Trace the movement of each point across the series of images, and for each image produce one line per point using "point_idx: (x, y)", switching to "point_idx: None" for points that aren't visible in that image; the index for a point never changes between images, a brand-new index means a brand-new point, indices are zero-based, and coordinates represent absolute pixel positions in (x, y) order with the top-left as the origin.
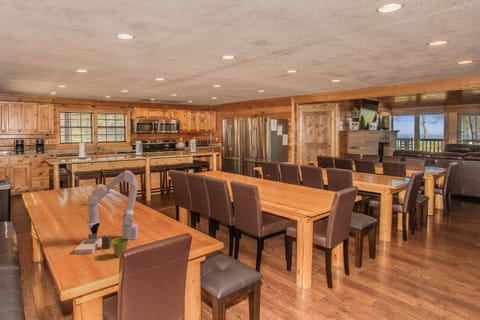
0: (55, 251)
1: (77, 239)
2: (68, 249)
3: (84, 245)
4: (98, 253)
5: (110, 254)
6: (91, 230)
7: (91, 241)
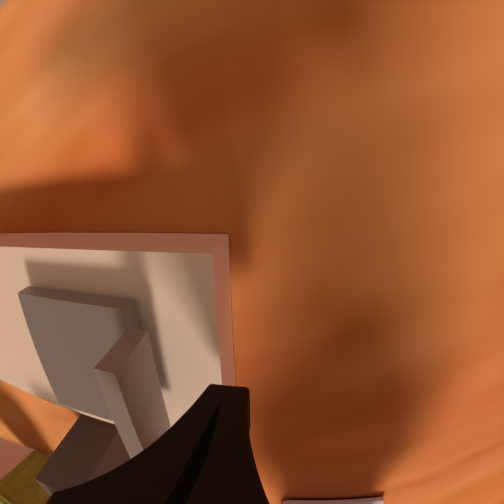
0: (10, 32)
1: (379, 45)
2: (27, 118)
3: (8, 308)
4: (24, 391)
5: (41, 438)
6: (145, 456)
7: (53, 376)
